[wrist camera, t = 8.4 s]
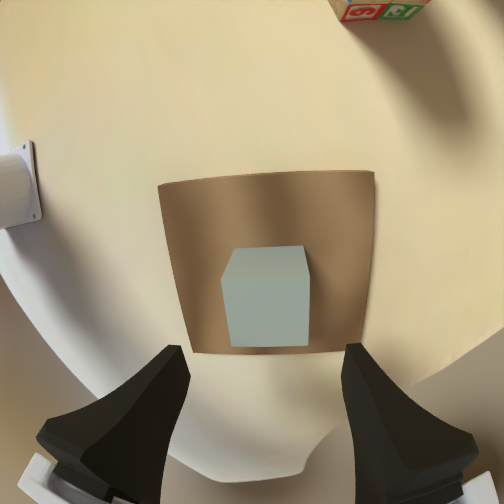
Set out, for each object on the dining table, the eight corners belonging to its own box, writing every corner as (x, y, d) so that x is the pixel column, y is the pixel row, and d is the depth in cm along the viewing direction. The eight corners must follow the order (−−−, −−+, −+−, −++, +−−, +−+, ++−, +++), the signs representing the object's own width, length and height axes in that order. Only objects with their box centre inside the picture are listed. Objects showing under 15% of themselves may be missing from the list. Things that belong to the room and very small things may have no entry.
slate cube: (241, 306, 20) (231, 346, 15) (234, 248, 18) (220, 279, 14) (303, 304, 19) (307, 345, 15) (303, 245, 17) (309, 276, 13)
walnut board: (196, 343, 23) (193, 352, 22) (164, 183, 18) (157, 186, 17) (355, 340, 21) (358, 349, 20) (368, 170, 16) (374, 172, 15)
